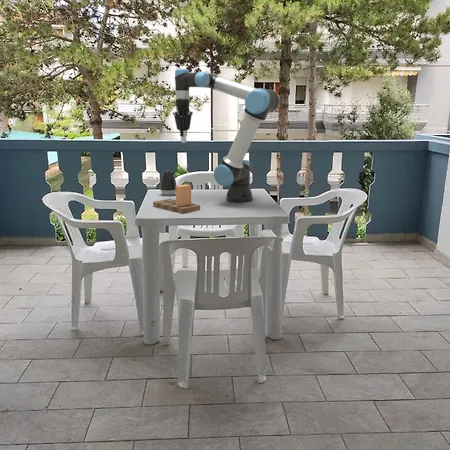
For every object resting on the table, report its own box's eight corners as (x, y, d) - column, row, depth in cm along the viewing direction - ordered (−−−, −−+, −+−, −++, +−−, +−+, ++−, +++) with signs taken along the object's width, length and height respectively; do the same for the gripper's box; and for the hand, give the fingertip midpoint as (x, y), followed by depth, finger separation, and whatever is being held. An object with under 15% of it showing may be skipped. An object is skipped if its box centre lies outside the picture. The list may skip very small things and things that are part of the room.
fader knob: (176, 205, 229) (175, 186, 227) (186, 203, 234) (185, 184, 232) (181, 206, 227) (180, 187, 224) (191, 204, 232) (190, 185, 229)
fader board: (153, 206, 239) (153, 201, 238) (170, 203, 247) (170, 198, 247) (182, 213, 223) (182, 208, 222) (200, 209, 231) (200, 204, 231)
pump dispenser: (169, 197, 263) (168, 171, 259) (156, 195, 269) (155, 170, 265) (180, 194, 271) (180, 169, 267) (167, 192, 277) (166, 168, 273)
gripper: (186, 98, 251) (187, 141, 257) (168, 98, 241) (170, 142, 248) (195, 98, 246) (196, 142, 252) (178, 98, 236) (179, 143, 243)
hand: (183, 142), depth 250 cm, fingers closed
